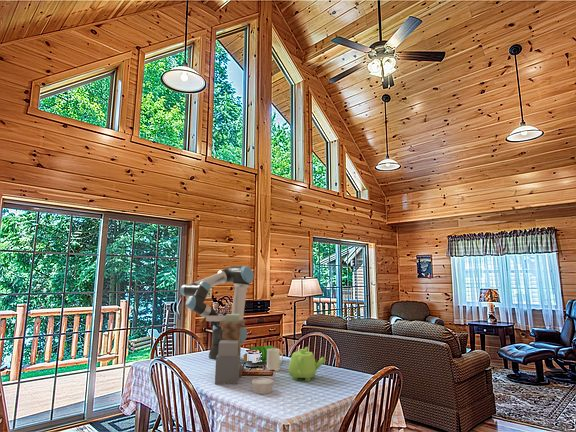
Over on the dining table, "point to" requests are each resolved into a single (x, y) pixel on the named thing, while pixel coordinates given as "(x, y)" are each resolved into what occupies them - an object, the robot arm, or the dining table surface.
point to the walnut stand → (233, 334)
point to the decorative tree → (262, 349)
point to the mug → (274, 358)
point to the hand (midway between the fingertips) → (233, 328)
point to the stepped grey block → (227, 362)
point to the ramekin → (262, 385)
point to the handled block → (224, 318)
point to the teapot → (304, 364)
